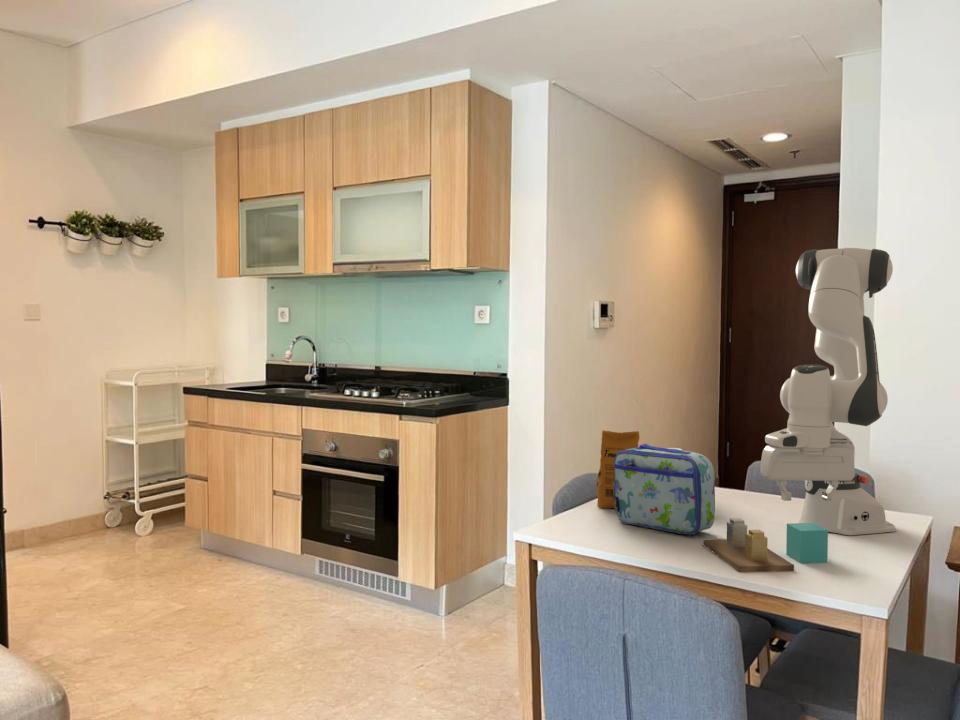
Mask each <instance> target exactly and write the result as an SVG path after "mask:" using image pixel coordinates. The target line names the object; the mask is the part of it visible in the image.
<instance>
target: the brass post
mask: <svg viewBox="0 0 960 720" xmlns="http://www.w3.org/2000/svg"><path fill="white" fill-rule="evenodd" d="M767 548H768V537H767V536H766V535H765V532H764V531H763V530H761V529H748V533H747V534H745V557H747V558H748V559H750V560H751V561H767Z"/></svg>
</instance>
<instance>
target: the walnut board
mask: <svg viewBox="0 0 960 720" xmlns="http://www.w3.org/2000/svg"><path fill="white" fill-rule="evenodd" d="M702 541H703V543H702V545H703V544H704V545H705V546H706V548H707V547H708V548H709V549H710V550H709V549H708V548H707V549H708V550H709V551H710V552H712V551H713V552H714V553H713V552H712V553H713V554H715V555H716V556H717V555H718V556H719V558H720V559H721V560H722V561H724V563H726V564H728V565H729V566H730V567H731V568H732V569H734V570H735V571H737V572H738V573H750V572H751V573H754V572H755V573H756V572H757V573H759V572H789V571H790V572H793V571H795V564H793V563H791V562H790V561H788V560H786V559H785V558H783V557H782V556H781V555H779V554H777V553H776V552H774V551H772V549H769V547H767V561H751V560H750V559H748V558H747V557H745V547H738V548H732V547H731V546H730V545H728V544H727V538H724V539H723V538H720V539H703V540H702ZM704 545H703V546H704ZM705 546H704V547H705ZM718 556H717V557H718Z"/></svg>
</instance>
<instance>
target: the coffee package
mask: <svg viewBox="0 0 960 720" xmlns="http://www.w3.org/2000/svg"><path fill="white" fill-rule="evenodd" d="M639 440H640V432H639V430H635V431H625V432H618V431H617V432H616V431H611V430H604V429H602V430H601V446H600V455H601V456H600V461H599V462H600V463H599V464H600V465H599V466H600V467H599V470H598V473H597V478H596V496H597V497H596V498H597V506H598V507H599V508H600V509H615V501H613V492H614V485H613V483H614V477H615V470H614V460H615V456H616V454H617V453H618V452H619V451H622V450H627V449H633V448H637V447H639Z"/></svg>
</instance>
